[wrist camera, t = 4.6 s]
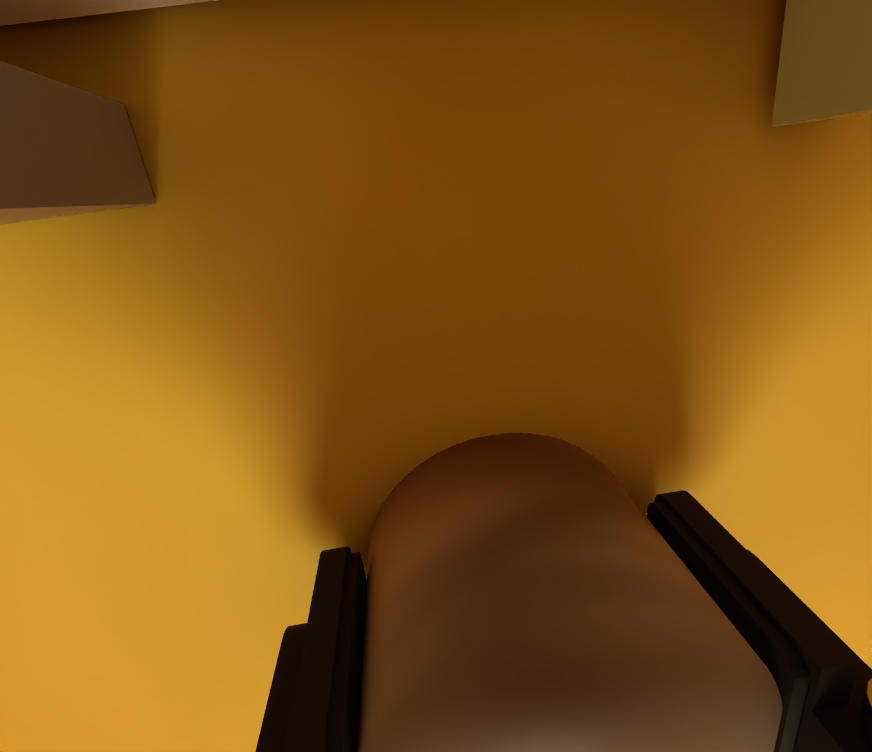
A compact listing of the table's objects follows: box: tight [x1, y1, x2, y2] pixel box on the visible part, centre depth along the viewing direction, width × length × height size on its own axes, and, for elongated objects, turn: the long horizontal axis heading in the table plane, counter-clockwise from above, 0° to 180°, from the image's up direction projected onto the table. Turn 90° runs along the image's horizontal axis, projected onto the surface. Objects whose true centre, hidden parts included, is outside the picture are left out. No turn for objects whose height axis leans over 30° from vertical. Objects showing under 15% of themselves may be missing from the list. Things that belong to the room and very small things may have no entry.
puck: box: [358, 433, 783, 752], centre depth 9 cm, size 6×6×4 cm
